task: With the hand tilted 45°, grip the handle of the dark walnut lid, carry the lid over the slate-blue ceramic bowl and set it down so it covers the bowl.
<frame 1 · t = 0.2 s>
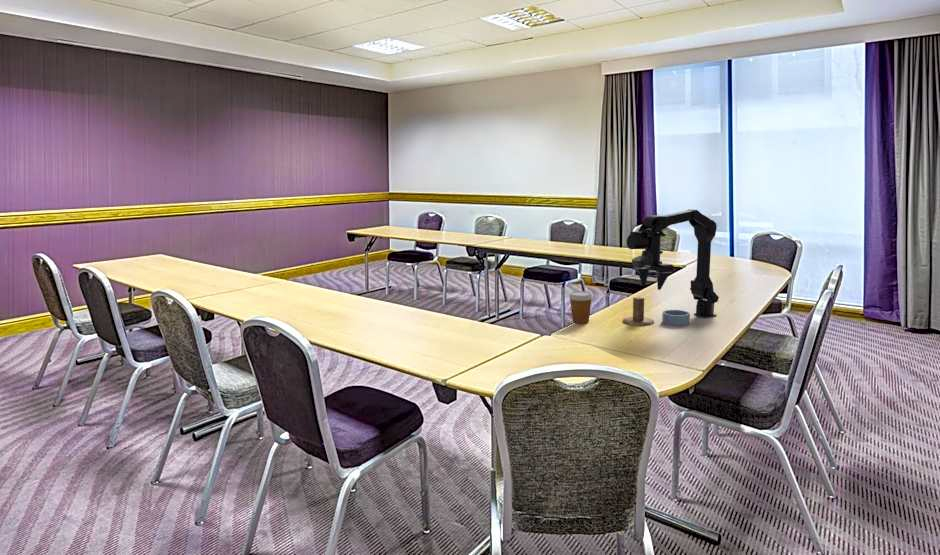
hand: (651, 287, 235), 15 cm above the table, tool pointing down, fingers open, 9 cm apart
disposable coffee cup: (580, 322, 243), on the table
slate bowl: (675, 322, 238), on the table
walnut lid: (638, 322, 241), on the table
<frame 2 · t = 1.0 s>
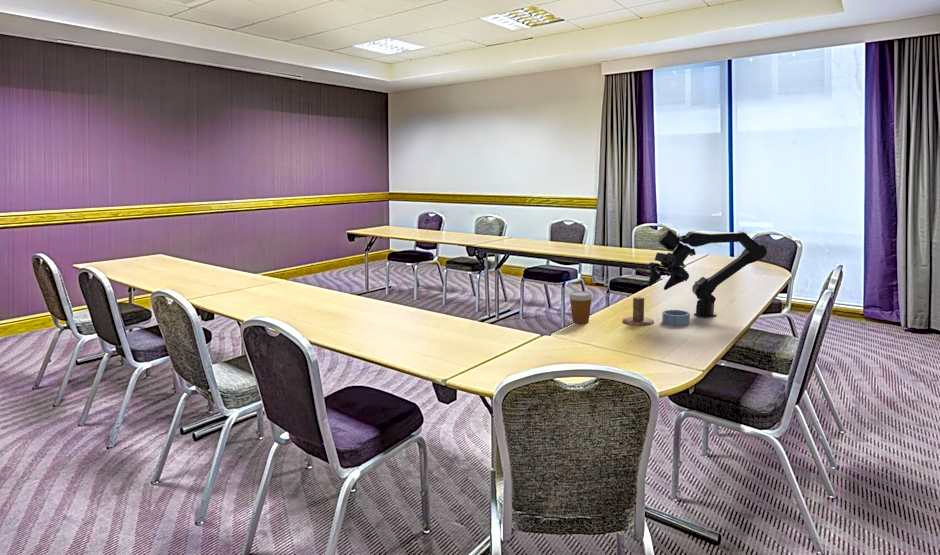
hand: (656, 287, 241), 13 cm above the table, tool tilted 45°, fingers open, 9 cm apart
nothing on the table moved.
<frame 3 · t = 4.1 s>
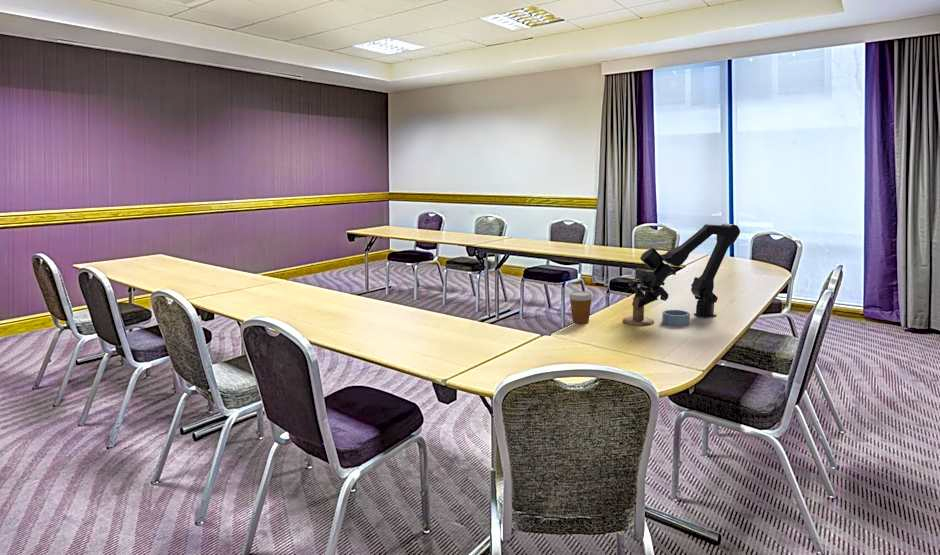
hand: (635, 306, 239), 7 cm above the table, tool tilted 45°, fingers closed on walnut lid, 3 cm apart
walnut lid: (638, 321, 241), on the table, touching gripper
everything else where it was.
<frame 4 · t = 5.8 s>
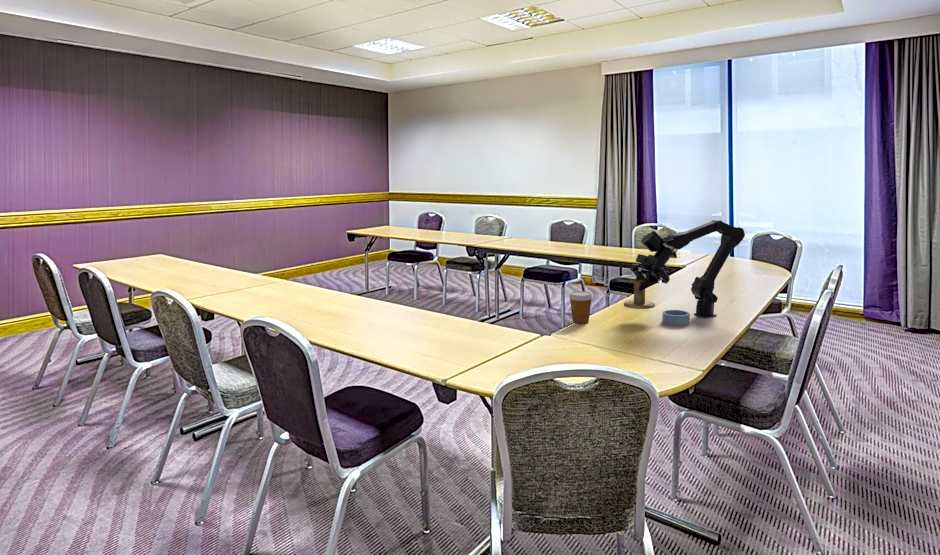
hand: (636, 289, 238), 13 cm above the table, tool tilted 45°, fingers closed on walnut lid, 3 cm apart
walnut lid: (639, 305, 239), point 7 cm above the table, touching gripper
everything else where it was.
when the fingers open (11 cm above the table, at t = 7.8 s): walnut lid stays where it is, resting on slate bowl.
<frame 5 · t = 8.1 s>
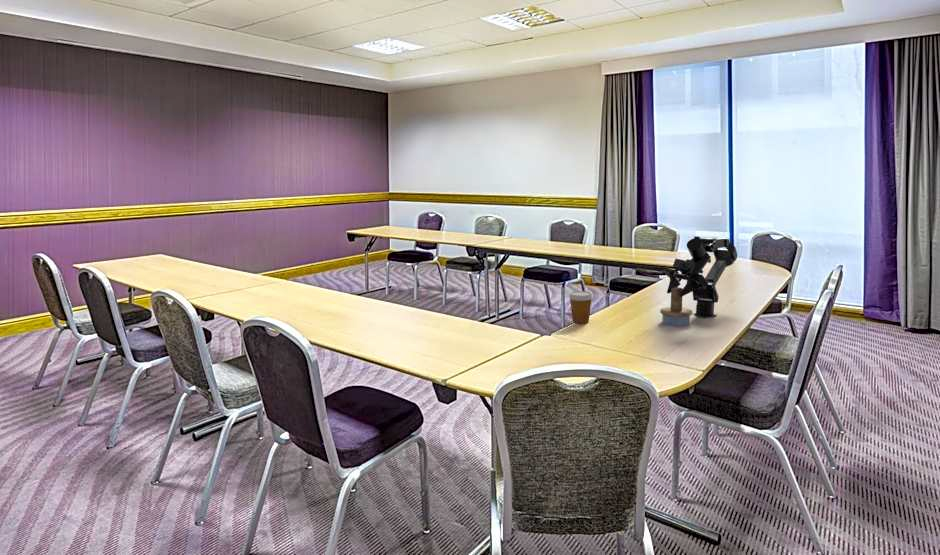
hand: (673, 294, 235), 12 cm above the table, tool tilted 45°, fingers open, 7 cm apart
walnut lid: (676, 312, 237), point 4 cm above the table, touching slate bowl
everything else where it was.
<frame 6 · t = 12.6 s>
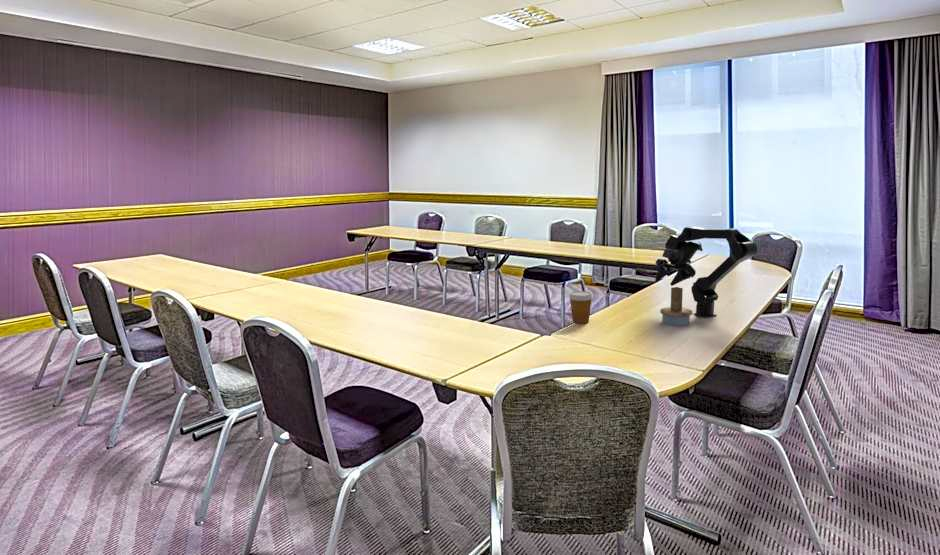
hand: (663, 283, 248), 14 cm above the table, tool tilted 45°, fingers open, 9 cm apart
nothing on the table moved.
at the end: walnut lid 0.1 cm off-centre on the slate bowl, point 4.0 cm above the slate bowl's base; walnut lid tilted 0°; the gripper is holding nothing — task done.
